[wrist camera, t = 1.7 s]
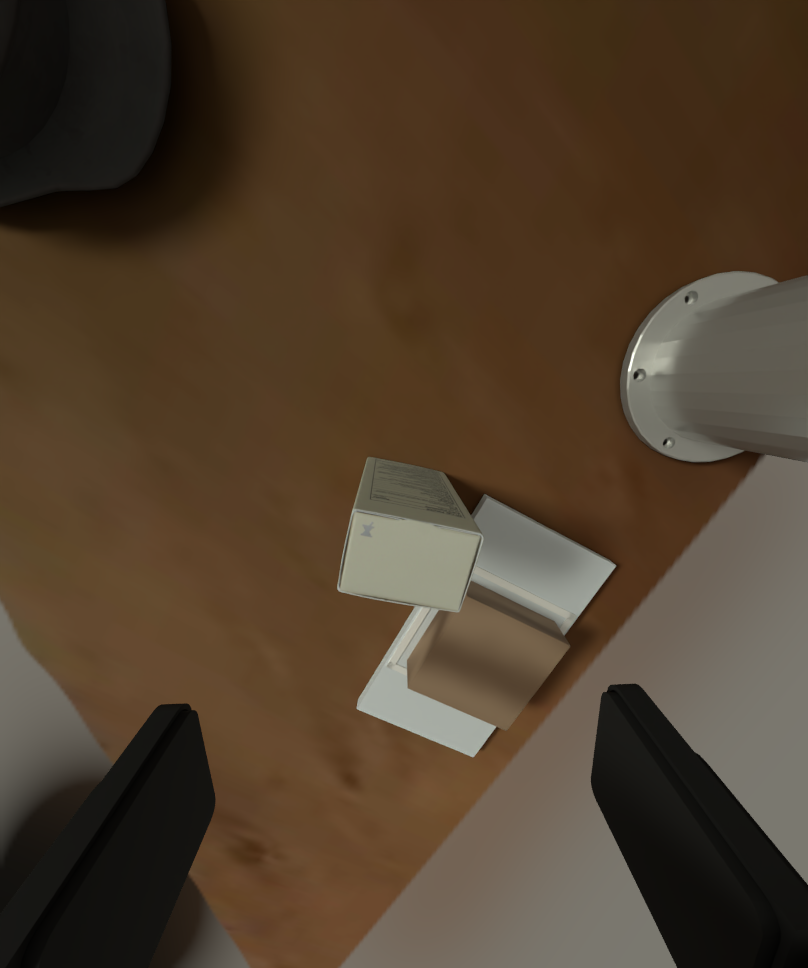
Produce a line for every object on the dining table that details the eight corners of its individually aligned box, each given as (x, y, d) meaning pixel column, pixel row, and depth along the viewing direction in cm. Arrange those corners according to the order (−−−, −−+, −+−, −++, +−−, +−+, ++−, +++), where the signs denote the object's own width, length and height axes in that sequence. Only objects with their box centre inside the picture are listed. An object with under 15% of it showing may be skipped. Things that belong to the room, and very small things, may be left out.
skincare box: (356, 508, 29) (327, 593, 17) (367, 454, 28) (344, 505, 16) (436, 524, 30) (461, 619, 18) (450, 472, 28) (487, 535, 17)
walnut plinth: (460, 575, 30) (467, 596, 27) (554, 621, 31) (570, 645, 28) (406, 660, 32) (407, 688, 29) (497, 700, 33) (506, 731, 30)
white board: (484, 493, 29) (487, 497, 28) (609, 559, 30) (617, 566, 29) (357, 699, 34) (356, 710, 33) (471, 747, 35) (473, 758, 34)
